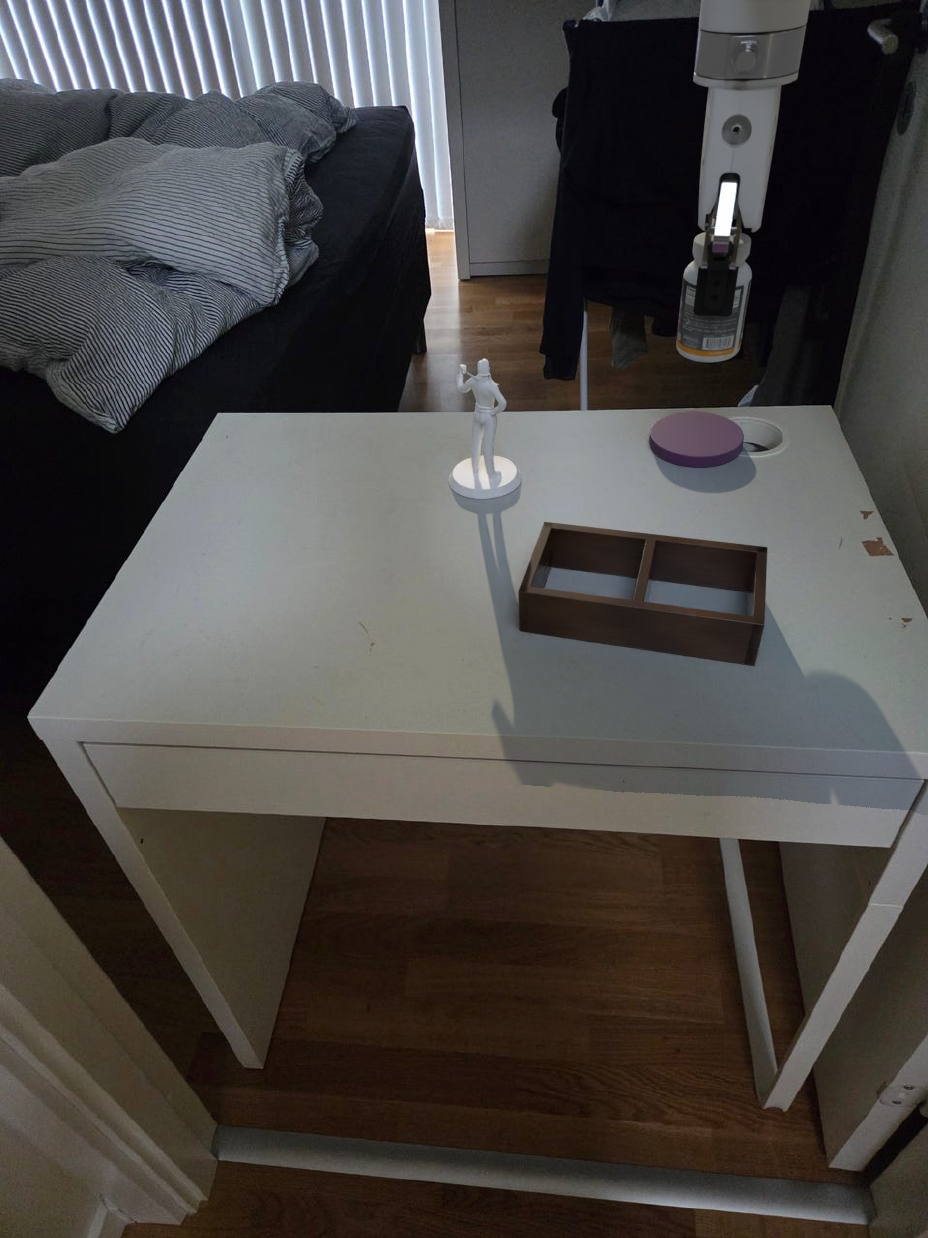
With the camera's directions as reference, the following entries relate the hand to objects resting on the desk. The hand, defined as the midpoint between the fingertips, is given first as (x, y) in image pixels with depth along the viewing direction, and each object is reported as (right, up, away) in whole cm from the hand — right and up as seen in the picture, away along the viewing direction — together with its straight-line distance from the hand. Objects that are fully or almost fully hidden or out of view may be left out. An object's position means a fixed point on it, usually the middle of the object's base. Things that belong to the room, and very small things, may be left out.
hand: (715, 297), depth 74 cm
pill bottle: (0, -4, +3) cm, 5 cm away
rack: (-8, -27, -8) cm, 30 cm away
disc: (+1, -11, +10) cm, 15 cm away
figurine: (-20, -15, +7) cm, 26 cm away
